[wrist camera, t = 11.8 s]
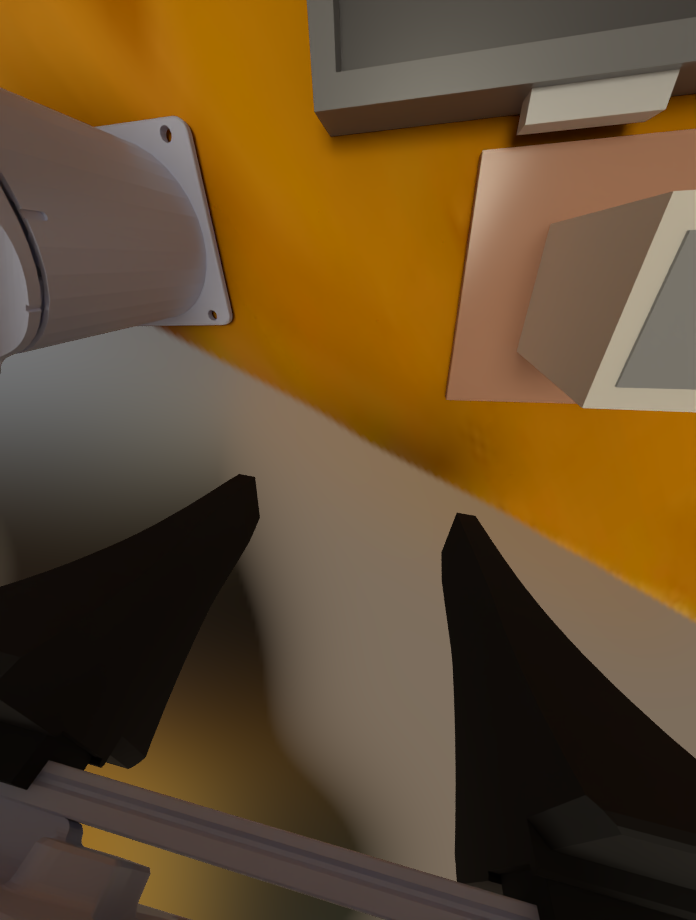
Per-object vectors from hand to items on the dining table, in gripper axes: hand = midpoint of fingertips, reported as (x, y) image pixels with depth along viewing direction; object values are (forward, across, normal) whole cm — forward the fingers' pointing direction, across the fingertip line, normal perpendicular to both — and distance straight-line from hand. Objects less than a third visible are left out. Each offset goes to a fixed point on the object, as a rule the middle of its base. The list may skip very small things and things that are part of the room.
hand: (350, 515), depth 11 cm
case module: (+9, -8, -7) cm, 14 cm away
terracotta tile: (+9, -8, -7) cm, 14 cm away
